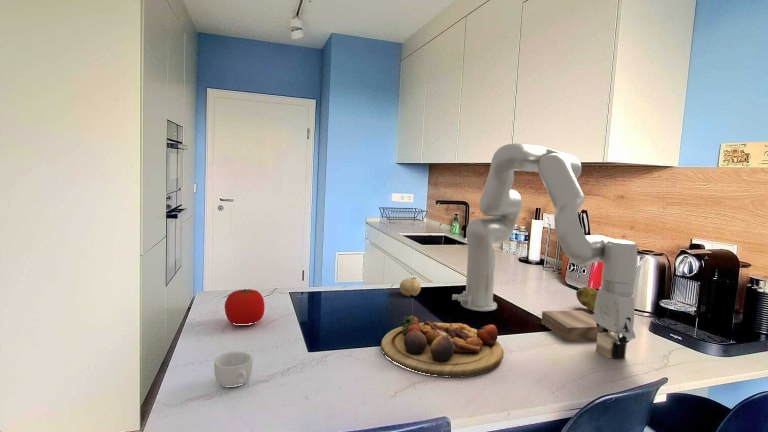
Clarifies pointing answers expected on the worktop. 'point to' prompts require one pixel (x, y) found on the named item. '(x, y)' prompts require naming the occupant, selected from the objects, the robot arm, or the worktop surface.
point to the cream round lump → (410, 287)
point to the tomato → (244, 306)
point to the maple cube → (606, 344)
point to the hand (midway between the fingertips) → (610, 352)
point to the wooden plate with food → (443, 348)
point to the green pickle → (587, 297)
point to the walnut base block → (571, 324)
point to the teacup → (233, 368)
